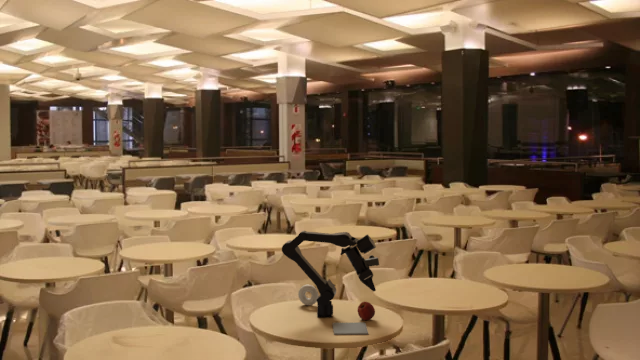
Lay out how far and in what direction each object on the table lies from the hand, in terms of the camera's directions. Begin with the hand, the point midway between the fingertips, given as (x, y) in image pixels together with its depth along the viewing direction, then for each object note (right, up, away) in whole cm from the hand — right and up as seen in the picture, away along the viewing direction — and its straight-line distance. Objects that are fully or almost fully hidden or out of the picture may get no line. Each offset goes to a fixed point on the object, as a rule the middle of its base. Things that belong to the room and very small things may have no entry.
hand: (373, 289), depth 299 cm
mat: (-11, -14, -13) cm, 23 cm away
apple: (-3, -13, 0) cm, 14 cm away
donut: (-29, -11, +21) cm, 38 cm away
